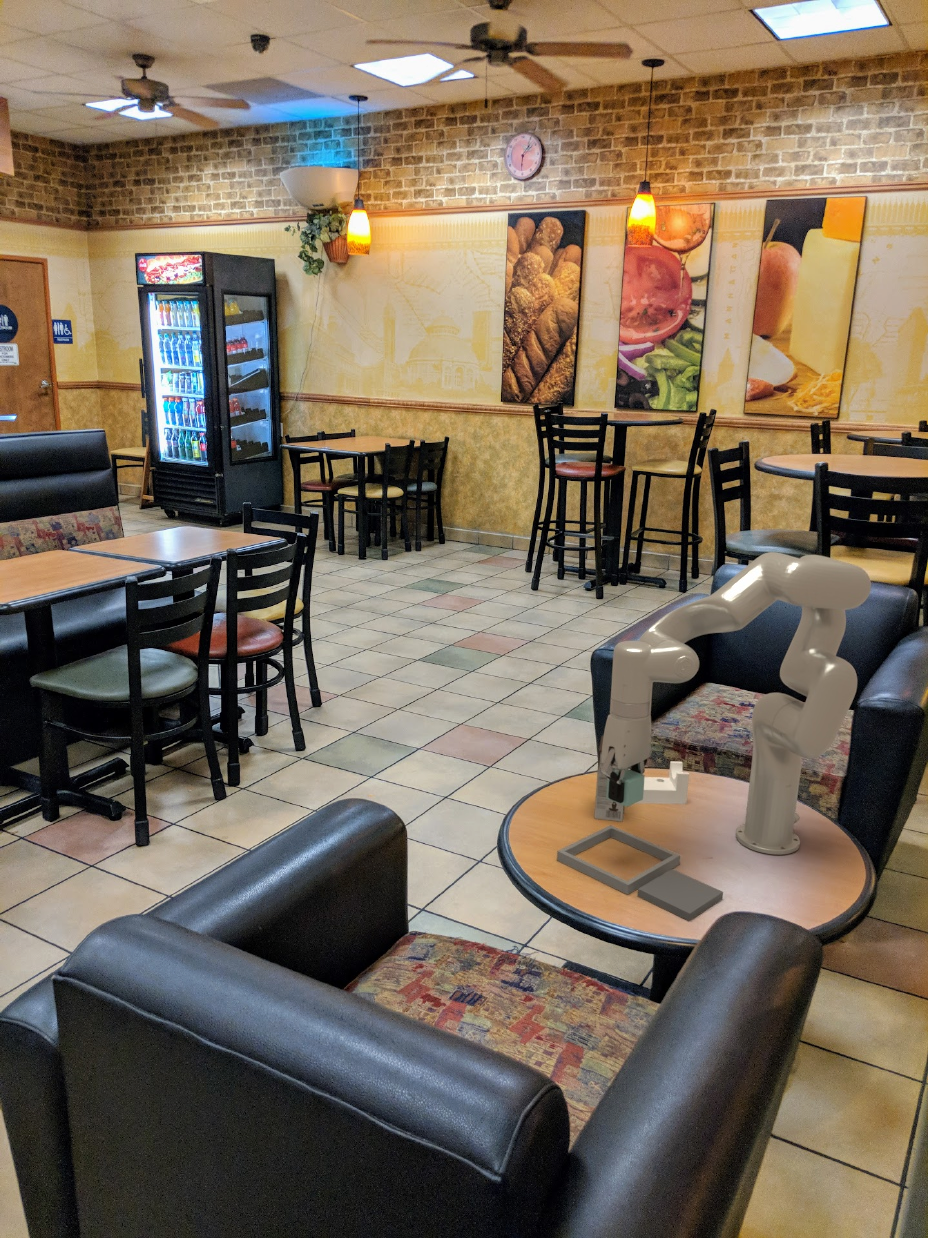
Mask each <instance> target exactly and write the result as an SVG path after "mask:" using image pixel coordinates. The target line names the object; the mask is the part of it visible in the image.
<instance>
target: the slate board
mask: <svg viewBox="0 0 928 1238" xmlns="http://www.w3.org/2000/svg"><path fill="white" fill-rule="evenodd" d="M636 895H637V897H638V898H640V899H643V900H645V901H647V902H649V903H650V904H653V905H654V906H657V907H659V908H661V909H662V910H665V911H667V912H668V913H671V914H673V915H676V916H678V917H679V918H682V919H683V920H685V921H688V922H690V921H691V920H693V919H695V918H696V917H698V916H700V915H701V914H702V913H704V912H705V911H707V910H709V909H710V908H711V907H713V906H714V905H716V904H718V903H719V902H721V901H722V900H723V899H724V898H723V897H724V896H723V895H724V891H722V890H721V889H719V888H715V887H714V886H711V885H710V884H709V885H708V884H707V883H705V882H702V881H700V880H698V879H696V878H693V877H691V876H689V875H687V874H685V873H682V872H679V871H677V870H675V869H674V868H673V869H671V870H669V871H668V872H666V873H664V874H662V875H661V876H659V877H657V878H656V879H654V880H652V881H650V882H649V883H647V884H645V885H643V886H642V887H640V888H638V889H637V894H636Z"/></svg>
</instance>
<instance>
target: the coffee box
mask: <svg viewBox="0 0 928 1238" xmlns="http://www.w3.org/2000/svg"><path fill="white" fill-rule="evenodd" d="M603 737H604V735H601V737H600V742H599V748H598V759H597V774H596V775H597V776H596V787H595V788H596V789H595V801H594V819H595V820H605V821H613V822H620V823H621V822H624V816H625V808H626V806H624V805H621V804H619V803H616V802H614V801H611V800H609V799H606V794H607V776H606V775H605V774H604V773H602V772H601V768H602V766H603V763H602V761H601V755H602V745H603ZM616 765H618V763H616ZM626 769H629V767H628V768H626ZM615 771H617V769H615Z"/></svg>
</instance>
